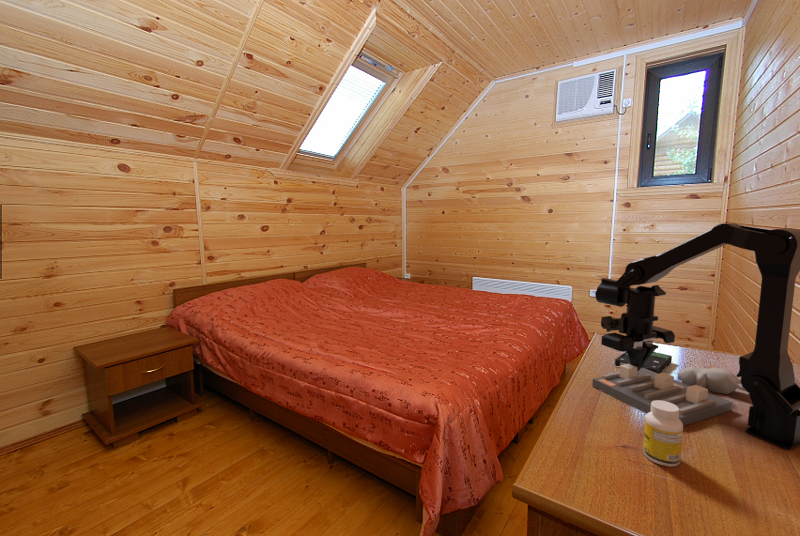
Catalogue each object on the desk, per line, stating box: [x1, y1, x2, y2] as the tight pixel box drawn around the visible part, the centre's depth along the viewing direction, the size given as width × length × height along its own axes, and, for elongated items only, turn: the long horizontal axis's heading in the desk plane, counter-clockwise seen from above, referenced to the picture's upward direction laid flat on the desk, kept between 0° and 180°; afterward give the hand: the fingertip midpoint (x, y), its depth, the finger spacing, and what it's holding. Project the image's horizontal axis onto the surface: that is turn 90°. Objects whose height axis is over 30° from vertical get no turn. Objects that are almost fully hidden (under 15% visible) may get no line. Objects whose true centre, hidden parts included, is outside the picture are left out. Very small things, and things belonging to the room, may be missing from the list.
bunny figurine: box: [677, 366, 748, 395], centre depth 89 cm, size 10×5×15 cm
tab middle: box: [654, 372, 675, 390], centre depth 86 cm, size 2×3×3 cm
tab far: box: [618, 364, 637, 379], centre depth 91 cm, size 2×3×3 cm
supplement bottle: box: [642, 400, 684, 468], centre depth 64 cm, size 5×5×10 cm
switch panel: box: [592, 368, 733, 427], centre depth 85 cm, size 20×18×3 cm
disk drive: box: [614, 351, 673, 374], centre depth 105 cm, size 10×3×15 cm
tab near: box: [686, 385, 709, 404], centre depth 79 cm, size 2×3×3 cm
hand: (635, 370), depth 92 cm, fingers closed
